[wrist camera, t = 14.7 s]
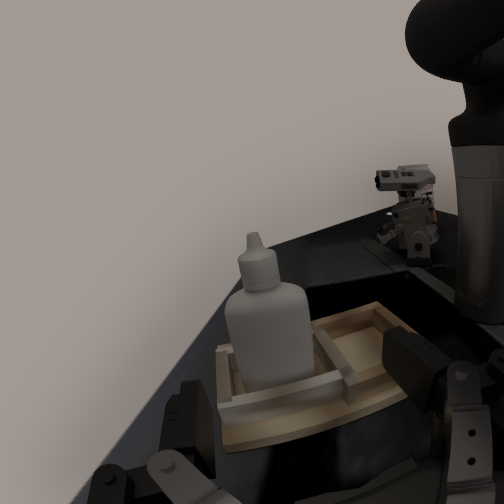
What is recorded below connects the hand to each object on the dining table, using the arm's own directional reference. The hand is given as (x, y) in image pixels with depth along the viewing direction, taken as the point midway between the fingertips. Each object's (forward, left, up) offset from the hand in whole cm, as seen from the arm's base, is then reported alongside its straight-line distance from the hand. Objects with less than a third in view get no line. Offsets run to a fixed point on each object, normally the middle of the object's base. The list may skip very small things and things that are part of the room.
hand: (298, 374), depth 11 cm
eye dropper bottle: (0, -8, -8) cm, 11 cm away
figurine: (-27, -28, -9) cm, 40 cm away
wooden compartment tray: (-4, -9, -8) cm, 13 cm away
